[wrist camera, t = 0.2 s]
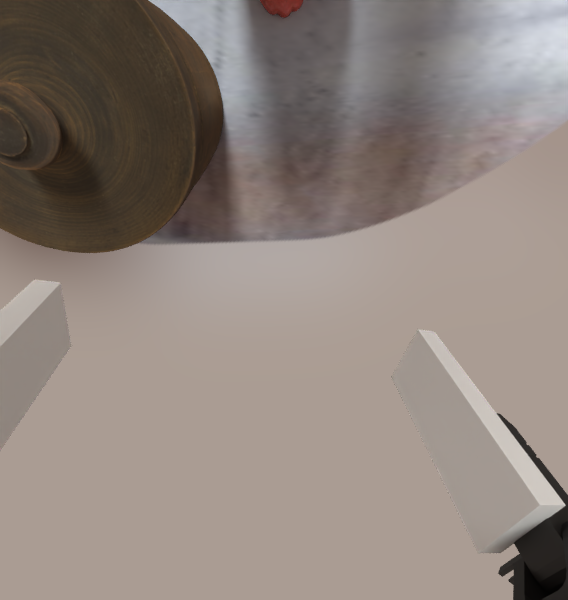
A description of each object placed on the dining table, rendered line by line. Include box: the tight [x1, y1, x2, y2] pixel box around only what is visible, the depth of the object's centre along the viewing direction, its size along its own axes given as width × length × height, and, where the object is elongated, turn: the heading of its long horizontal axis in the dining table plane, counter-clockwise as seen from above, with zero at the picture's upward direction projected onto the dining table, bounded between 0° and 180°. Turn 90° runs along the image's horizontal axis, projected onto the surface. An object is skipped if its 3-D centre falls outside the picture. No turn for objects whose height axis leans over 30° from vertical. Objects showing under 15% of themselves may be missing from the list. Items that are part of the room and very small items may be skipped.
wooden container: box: [0, 0, 223, 253], centre depth 22 cm, size 15×15×22 cm
